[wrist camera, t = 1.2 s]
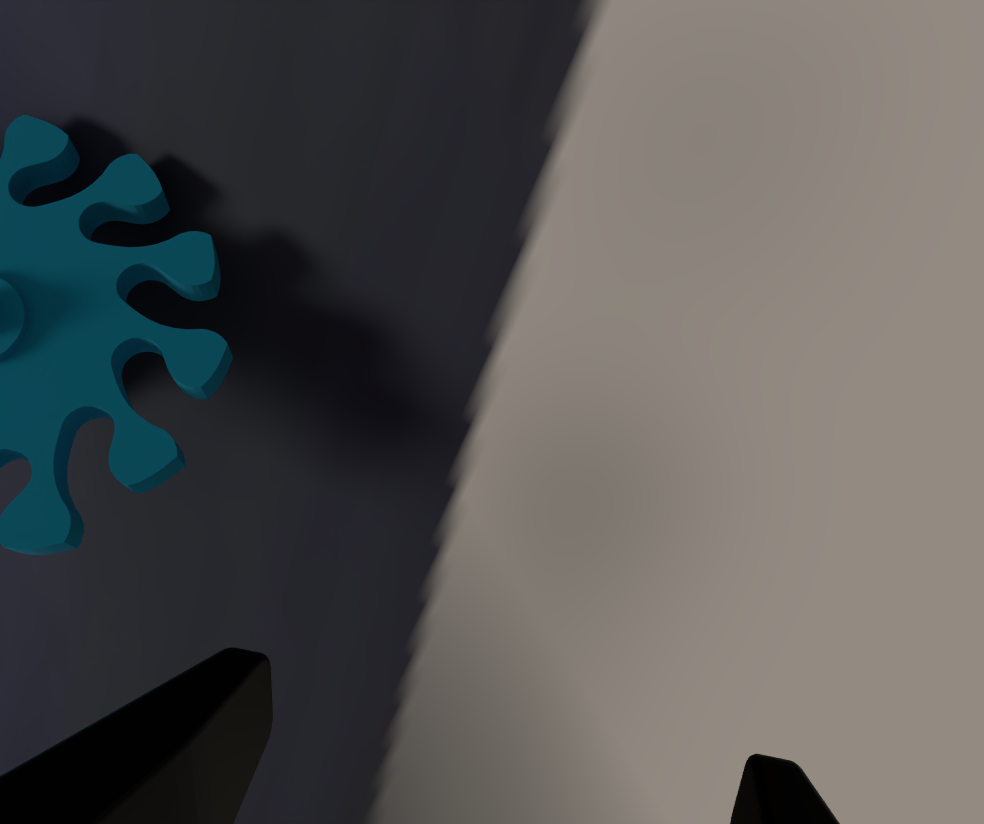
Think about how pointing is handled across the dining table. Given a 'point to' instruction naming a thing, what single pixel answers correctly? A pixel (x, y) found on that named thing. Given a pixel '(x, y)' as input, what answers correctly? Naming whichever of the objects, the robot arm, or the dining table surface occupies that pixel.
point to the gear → (86, 328)
